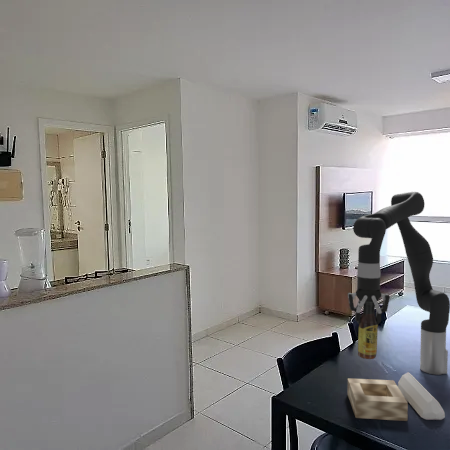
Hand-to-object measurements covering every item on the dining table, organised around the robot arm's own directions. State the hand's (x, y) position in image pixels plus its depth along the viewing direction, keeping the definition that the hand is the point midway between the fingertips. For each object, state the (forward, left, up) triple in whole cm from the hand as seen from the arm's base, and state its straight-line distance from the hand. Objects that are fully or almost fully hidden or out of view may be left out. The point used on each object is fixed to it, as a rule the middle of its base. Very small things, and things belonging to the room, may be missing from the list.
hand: (367, 322), depth 141 cm
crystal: (-17, 0, -28) cm, 33 cm away
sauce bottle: (0, 0, -12) cm, 12 cm away
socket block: (-2, +4, -28) cm, 28 cm away
